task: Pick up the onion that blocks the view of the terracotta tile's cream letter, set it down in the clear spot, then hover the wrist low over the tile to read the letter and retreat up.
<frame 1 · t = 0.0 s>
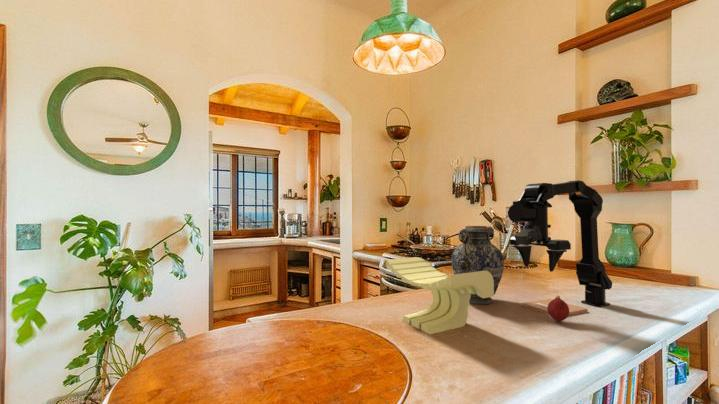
hand: (538, 269, 112), 15 cm above the table, fingers open, 9 cm apart
decorative vase: (477, 300, 128), on the table
letter tile: (553, 308, 117), on the table
slatted curved stool: (435, 323, 104), on the table
onion: (558, 322, 104), on the table
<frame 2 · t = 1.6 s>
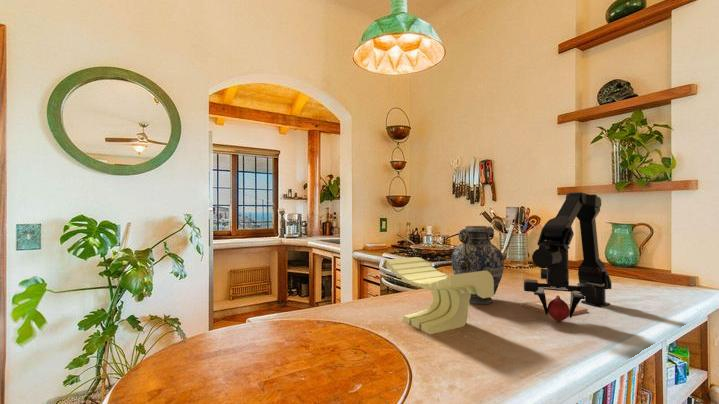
hand: (558, 316, 104), 2 cm above the table, fingers closed on onion, 6 cm apart
onion: (558, 322, 104), on the table, touching gripper
everything else where it was.
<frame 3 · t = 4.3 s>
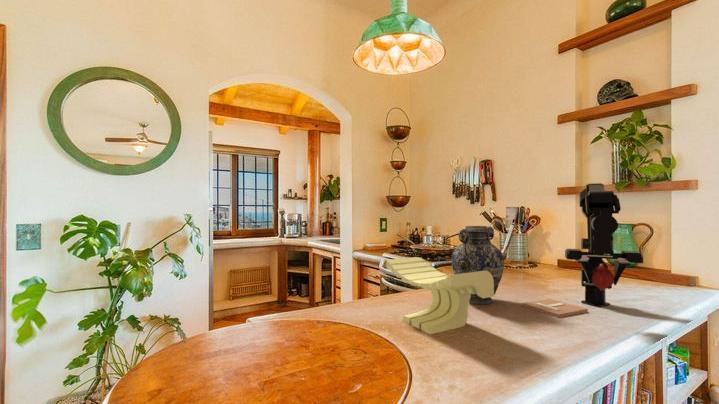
hand: (602, 284, 103), 12 cm above the table, fingers closed on onion, 6 cm apart
onion: (602, 290, 103), point 10 cm above the table, touching gripper
everything else where it was.
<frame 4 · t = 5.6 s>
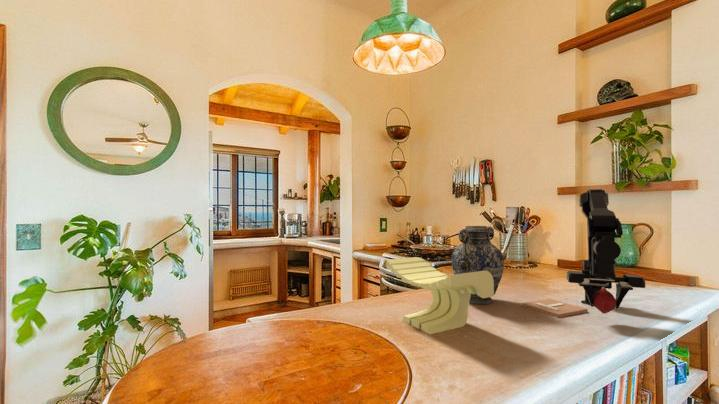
hand: (604, 307, 103), 5 cm above the table, fingers closed on onion, 6 cm apart
onion: (604, 314, 103), point 3 cm above the table, touching gripper
everything else where it was.
when the fingers open (3 cm above the table, at t = 6.8 s): onion drops 1 cm, on the table.
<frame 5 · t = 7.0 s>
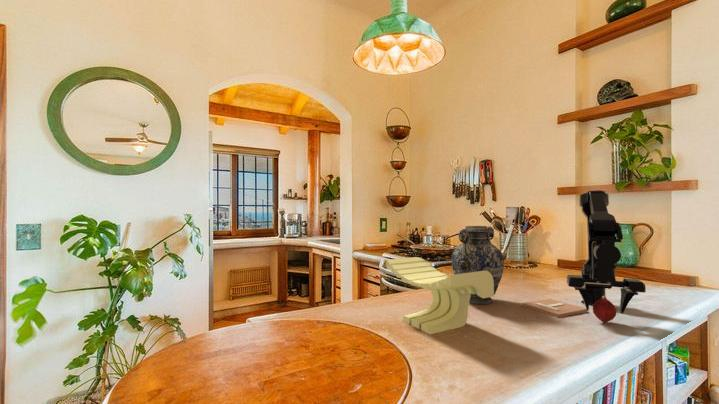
hand: (604, 311, 103), 3 cm above the table, fingers open, 8 cm apart
onion: (604, 323, 103), on the table
everything else where it was.
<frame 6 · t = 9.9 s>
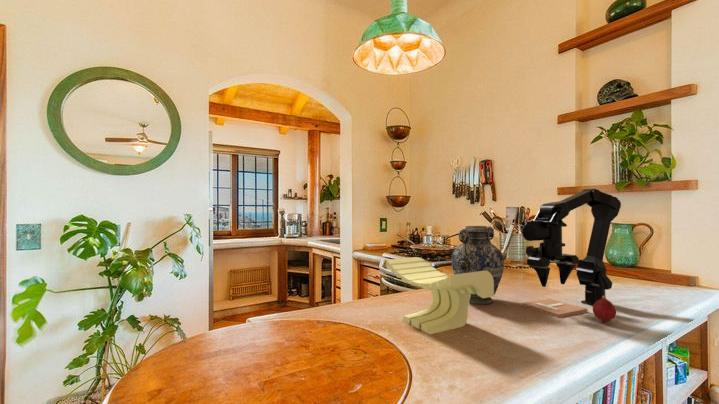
hand: (553, 285, 117), 8 cm above the table, fingers open, 9 cm apart
nothing on the table moved.
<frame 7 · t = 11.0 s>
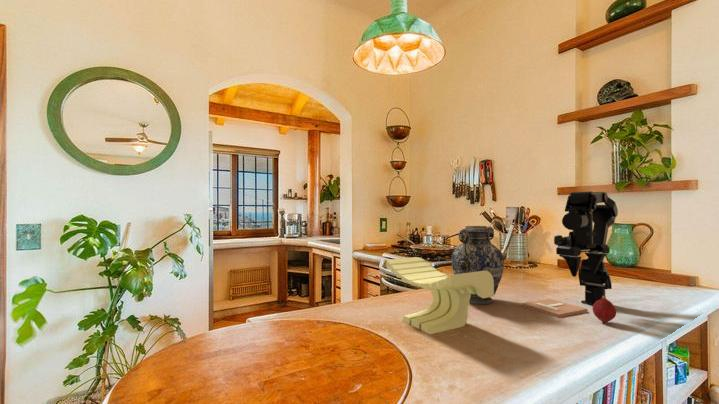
hand: (583, 275, 115), 12 cm above the table, fingers open, 9 cm apart
nothing on the table moved.
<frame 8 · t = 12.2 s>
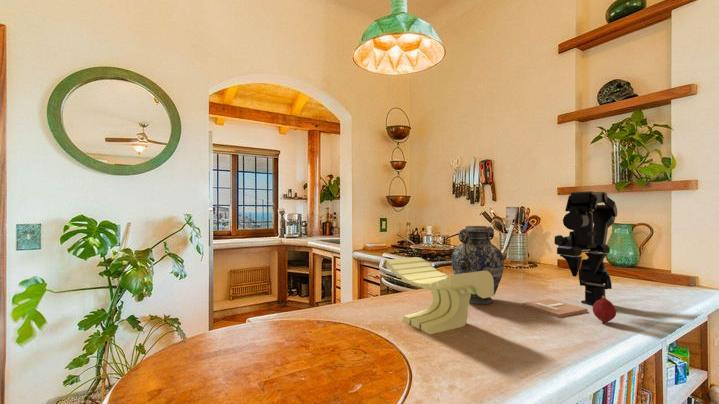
hand: (583, 275, 114), 12 cm above the table, fingers open, 9 cm apart
nothing on the table moved.
at the end: onion inside the target area (0.0 cm from its centre), on the table; onion touching table; the gripper is holding nothing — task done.
